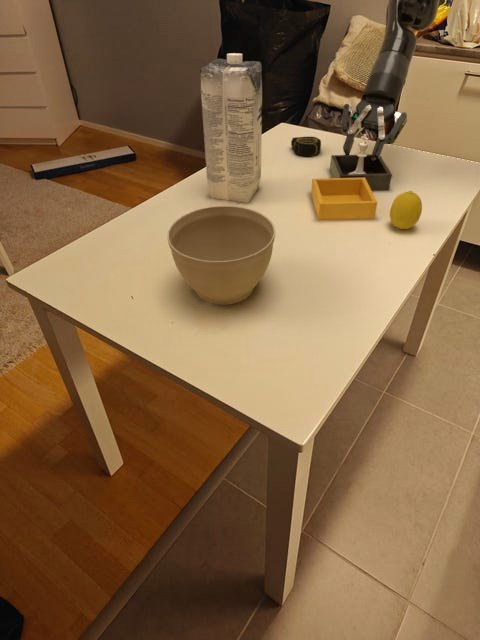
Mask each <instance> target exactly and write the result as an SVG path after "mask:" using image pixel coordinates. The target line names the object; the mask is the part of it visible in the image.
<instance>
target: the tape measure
mask: <svg viewBox="0 0 480 640" xmlns="http://www.w3.org/2000/svg"><path fill="white" fill-rule="evenodd" d="M290 141H291V142H290V145H291V149H292V150H293V153H295V154H296V155H297V156H300V157H314V156H317V155H319V154H320V153H321V148H322V140H321V139H320V138H318V137H316V136H297V137H292V138H291V140H290Z"/></svg>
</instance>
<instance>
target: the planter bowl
mask: <svg viewBox="0 0 480 640" xmlns="http://www.w3.org/2000/svg"><path fill="white" fill-rule="evenodd" d="M166 237H167V242H168V246H169V248H170V251H171V256H172V260H173V261H174V265H175V266H176V269H177V270H178V272H179V274H180V276H181V277H182V278H183V279H184V281H185V282H186V283H187V284H188V285H189V287H191V288H192V289H193V290H194V291H195V292H196V294H197V295H198V297H199V298H200V299H202V300H204V301H205V302H207V303H211V304H215V305H232V304H233V305H234V304H236V303H239V302H243V301H244V300H246V299H247V298H249V297H250V295H252V293H253V291H254V289H255V287H256V286H257V285H258V283H259V282H260V281H261V280H262V278H263V276H265V273H266V271H267V269H268V267H269V265H270V262H271V260H272V254H273V249H274V242H275V239H276V228H275V225H274V223H273V222H272V220H271V219H270V218H269V217H268V216H266V215H264V214H263V213H261V212H259V211H257V210H255V209H252V208H248V207H245V206H238V205H213V206H211V205H210V206H206V207H202V208H198V209H194V210H192V211H190V212H188V213H185V214H184V215H182V216H180V217H179V218H177V219H176V220H175V221H174V222H173V223H172V224H171V225H170V226H169V228H168V230H167V236H166Z"/></svg>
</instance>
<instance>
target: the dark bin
mask: <svg viewBox="0 0 480 640" xmlns="http://www.w3.org/2000/svg"><path fill="white" fill-rule="evenodd" d="M366 154H367V156H366V157H364V161H363V171H364V173H366V174H349V173H351V172H354V171H355V170H356V167H357V164H358V160H359V156H357V154H349V156H348V155H345V154H331V156H330V164H329V172H330V175H331V178H364V177H365V179H366V181H367V183H368V185H369V187H370V189H371V191H372V192H384V191H385V192H387V191H388V192H389V190H390V187H391V182H392V177H393V174H392V173H391V171H390V169H389V167H388V166H387V164H386V162H385V161H384V159H383V158H382V156H381V155H380V157H379V158H376V160H375V161H374V160H372V159H371V155H372V153H370V154H369V153H366Z"/></svg>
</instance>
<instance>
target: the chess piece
mask: <svg viewBox="0 0 480 640" xmlns="http://www.w3.org/2000/svg"><path fill="white" fill-rule="evenodd" d="M367 136H368V135H367V133H364V134H363V135H362V136H360V140H362V141H360V142H359V143H358V147H359V148H358V149H359V152H357V153H356V155H357V156H359V160H358V164H357V167H356V170H355V171H354V172H351V173H349V174H366V173H364V171H363V161H364V157H366V156H367V154H368V153H366V151H367V149H368V147H369V143H368V141H369V137H367Z"/></svg>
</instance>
